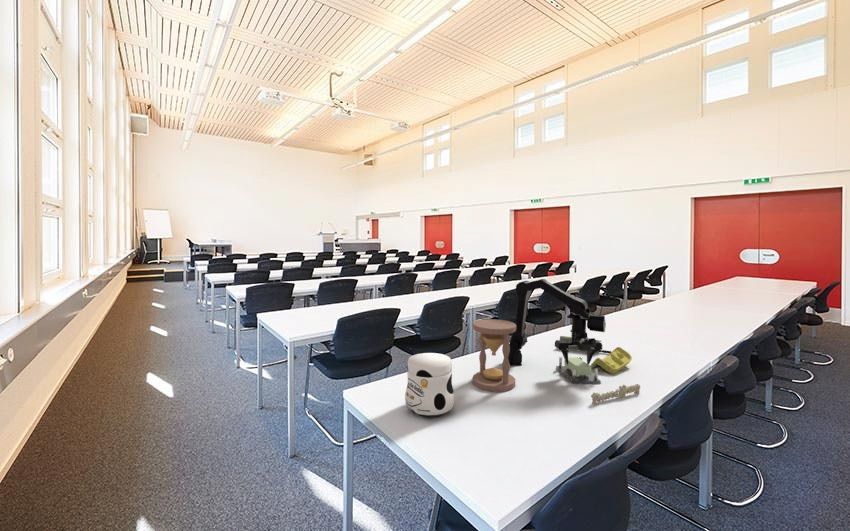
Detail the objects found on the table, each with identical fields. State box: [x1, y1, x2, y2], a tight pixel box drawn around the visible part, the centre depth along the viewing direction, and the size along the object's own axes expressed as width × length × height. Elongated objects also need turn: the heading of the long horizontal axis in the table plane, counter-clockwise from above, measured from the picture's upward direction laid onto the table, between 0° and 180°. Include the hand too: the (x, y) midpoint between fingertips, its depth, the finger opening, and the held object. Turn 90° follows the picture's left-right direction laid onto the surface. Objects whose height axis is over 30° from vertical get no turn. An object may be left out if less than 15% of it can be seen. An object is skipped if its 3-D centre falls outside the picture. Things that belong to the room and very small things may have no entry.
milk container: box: [404, 352, 455, 418], centre depth 133 cm, size 17×17×18 cm
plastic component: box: [590, 346, 633, 374], centre depth 176 cm, size 20×7×10 cm
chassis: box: [556, 356, 602, 385], centre depth 165 cm, size 12×18×6 cm, turn 0°
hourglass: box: [471, 318, 516, 393], centre depth 156 cm, size 18×18×25 cm
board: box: [563, 356, 592, 375], centre depth 165 cm, size 6×12×4 cm, turn 5°
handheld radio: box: [559, 335, 612, 355], centre depth 200 cm, size 7×3×25 cm
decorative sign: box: [590, 383, 641, 405], centre depth 142 cm, size 24×1×5 cm, turn 113°
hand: (577, 364), depth 165 cm, fingers open, 9 cm apart
